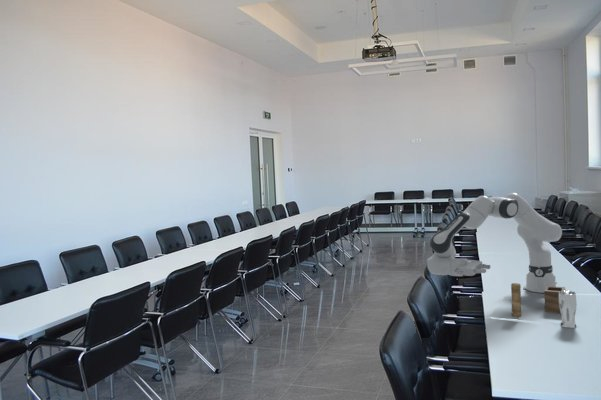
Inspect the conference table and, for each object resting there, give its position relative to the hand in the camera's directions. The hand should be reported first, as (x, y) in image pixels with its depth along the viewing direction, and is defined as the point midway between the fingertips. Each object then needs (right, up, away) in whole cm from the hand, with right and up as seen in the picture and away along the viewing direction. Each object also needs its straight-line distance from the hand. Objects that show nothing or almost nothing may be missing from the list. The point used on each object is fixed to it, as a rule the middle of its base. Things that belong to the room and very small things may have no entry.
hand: (487, 268), depth 238 cm
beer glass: (+27, -22, -21) cm, 41 cm away
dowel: (+12, -22, -5) cm, 26 cm away
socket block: (+32, -19, -1) cm, 38 cm away
